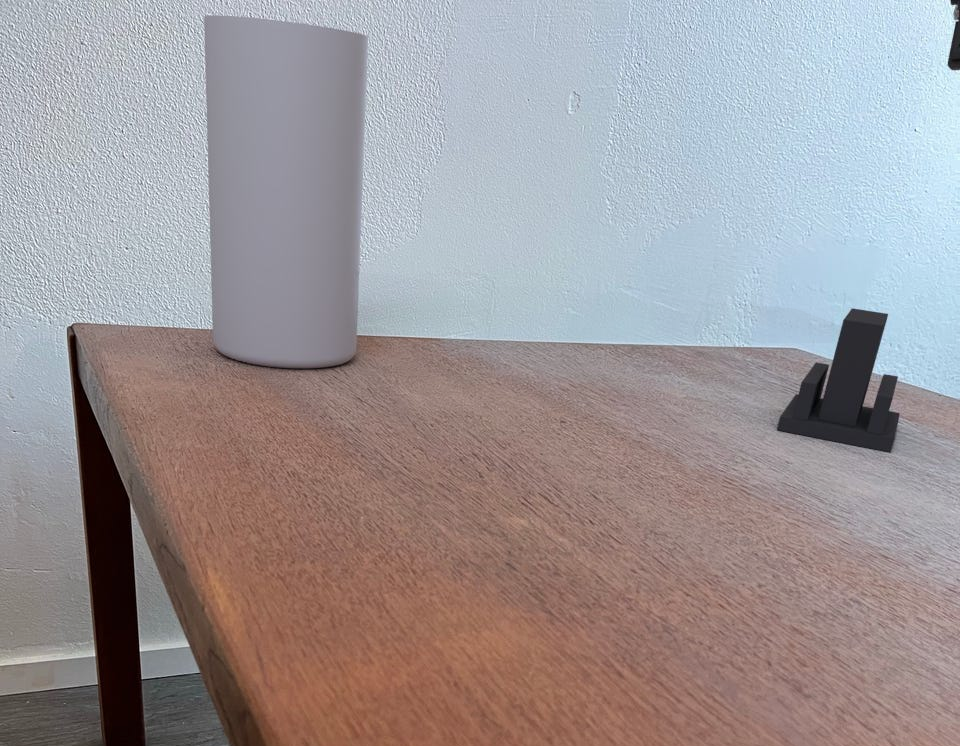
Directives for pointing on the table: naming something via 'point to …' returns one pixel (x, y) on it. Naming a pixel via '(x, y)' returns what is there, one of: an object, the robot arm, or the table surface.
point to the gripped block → (852, 366)
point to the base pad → (869, 431)
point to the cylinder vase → (285, 189)
